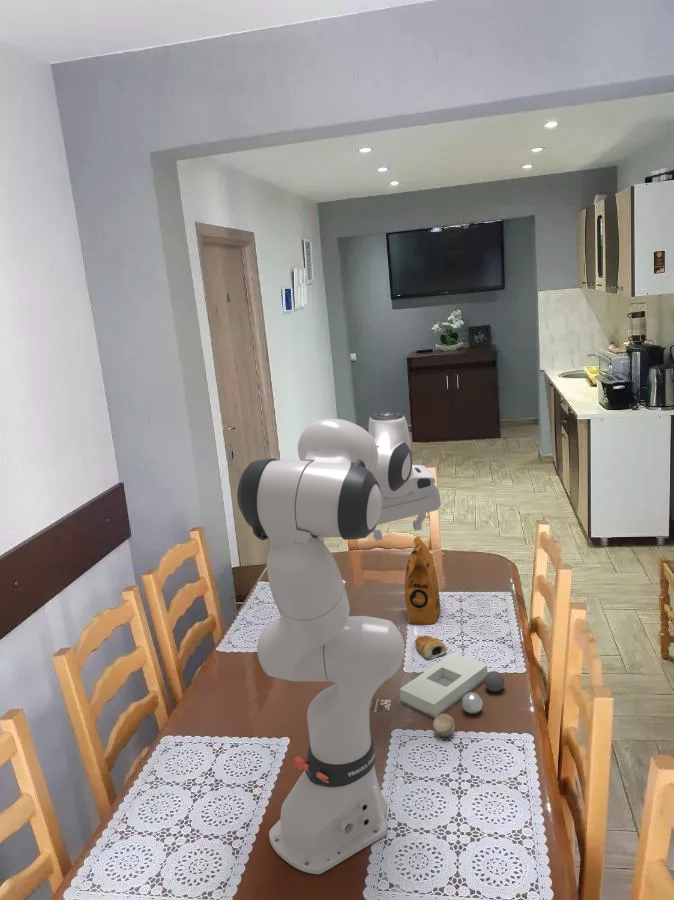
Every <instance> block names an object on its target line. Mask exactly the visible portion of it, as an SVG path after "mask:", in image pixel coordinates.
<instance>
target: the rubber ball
mask: <svg viewBox="0 0 674 900" xmlns="http://www.w3.org/2000/svg"><path fill="white" fill-rule="evenodd" d="M483 683H484V685H485V687H486V689H488V690H489V691H491V692H495V693H496V692H499V691H500V690H502V689H503V688H504V685H505V679H504V676H503V674H502V673H500V672H499V671H495V670H491V671H489V672H487V674H486V676H485V679H484V682H483Z"/></svg>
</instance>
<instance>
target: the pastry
mask: <svg viewBox="0 0 674 900" xmlns="http://www.w3.org/2000/svg"><path fill="white" fill-rule="evenodd" d="M414 641H415V646H416V648H417V652H418V653H420V655H421V656H422V657H423V658H424V659H425V660H429V659H430V660H434V659H437V658H438V657H441V656H444V655H445V654H446V653H447V646H446V644H444V642H442V641H441V639H439V638H438V637H432V636H431V635H420V636H417V638H416V639H415V640H414Z"/></svg>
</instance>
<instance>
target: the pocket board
mask: <svg viewBox="0 0 674 900" xmlns="http://www.w3.org/2000/svg"><path fill="white" fill-rule="evenodd" d="M487 673H488V664H485V663H482V662H479V661H477V660H474V659H471V658H469V657H466V656H464V655H461V654H458V653H455V652H452V653H450V654H449V655H447V656H445V657H444V658H443V659H441V660H440V661H438V662H437V663H436V664H434V665H432V666H431V667H430V668H428V669H427V670H425V671H424V672H422V673H421V674H419V675H418V676H417V677H415V678H413V679H412V680H410V681H409V682H408V683H406V684H404V685H403V686H402V687H400V688H399V695H400V696H399V697H400V698H399V699H400V703H401V704H403V705H406V706H408V707H410V708H412V709H413V710H416V711H418V712H419V713H422V714H425V715H427V716H429V717H431V718H433V719H435V718H436V717H437V716H438V715H439V714H444V713H445V712H446V711H447V710H448V709H450V708H451V707H453V706H454V705H455V704H456V703H458V702H459V701H460V700H462V699H463V697H464V695H465V694H467V693H469V692H472V691H474V690H475V689H476V688H477V687H479V686H480V685H481V684H482V683H485V682H484V679H485V676H486V674H487Z"/></svg>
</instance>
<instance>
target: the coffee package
mask: <svg viewBox="0 0 674 900" xmlns="http://www.w3.org/2000/svg"><path fill="white" fill-rule="evenodd" d="M413 543H414V545H415V547H414V548H413V550H412V551H411V553H410V555H409V557H408V560H407V562H406V569H405V577H404V600H405V605H406V611H407V620H408V622H409V623H410V624H413V625H414V624H418V625H434V624H436V623H437V620H438V618H439V615H440V613H441V603H440V602H441V599H440V592H439V584H438V583H439V582H438V577H437V572H436V569H435V564H434V559H433V558H434V557H433V555H432V553H431V552H430V549H429V548H428V547H427V546H426V544H425V543H424V541H423V540H422V539H421V537H420V536H416V537H414V539H413Z"/></svg>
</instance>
